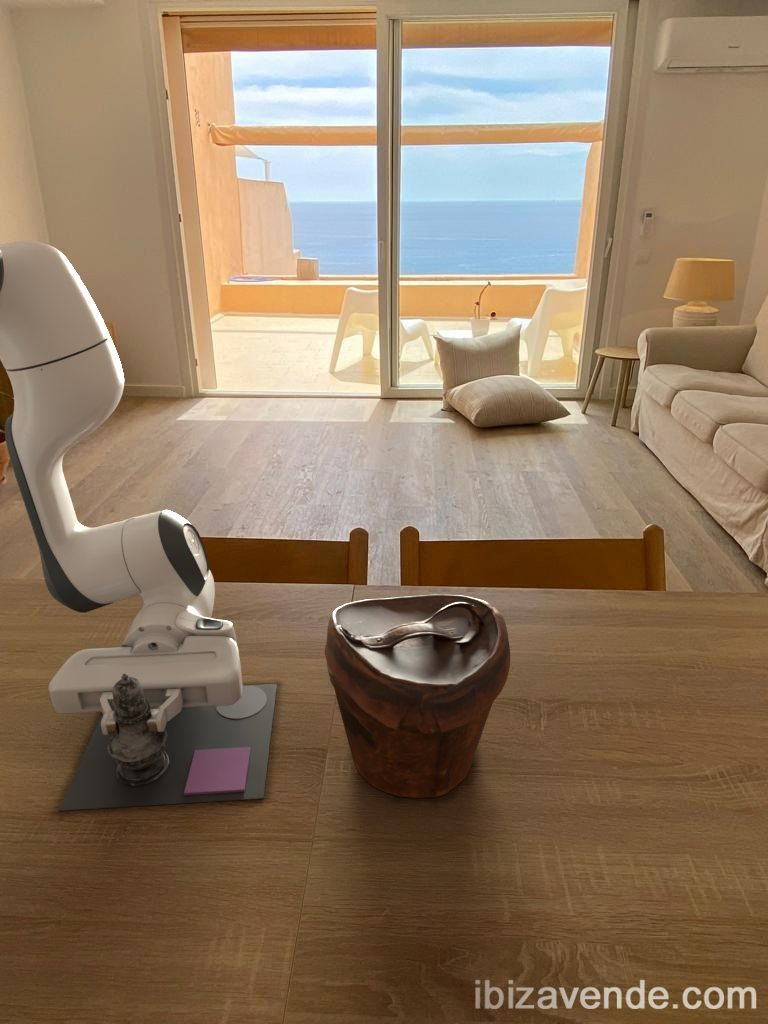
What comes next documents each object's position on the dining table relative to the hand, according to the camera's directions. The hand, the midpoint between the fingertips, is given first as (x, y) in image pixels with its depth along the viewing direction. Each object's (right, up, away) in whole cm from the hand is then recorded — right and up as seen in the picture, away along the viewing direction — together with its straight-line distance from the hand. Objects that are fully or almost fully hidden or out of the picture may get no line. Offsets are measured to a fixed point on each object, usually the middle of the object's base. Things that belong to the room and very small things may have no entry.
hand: (132, 728), depth 70 cm
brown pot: (+29, -4, +5) cm, 30 cm away
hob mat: (+3, -4, +7) cm, 8 cm away
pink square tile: (+8, -5, +3) cm, 10 cm away
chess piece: (0, -5, +3) cm, 6 cm away
